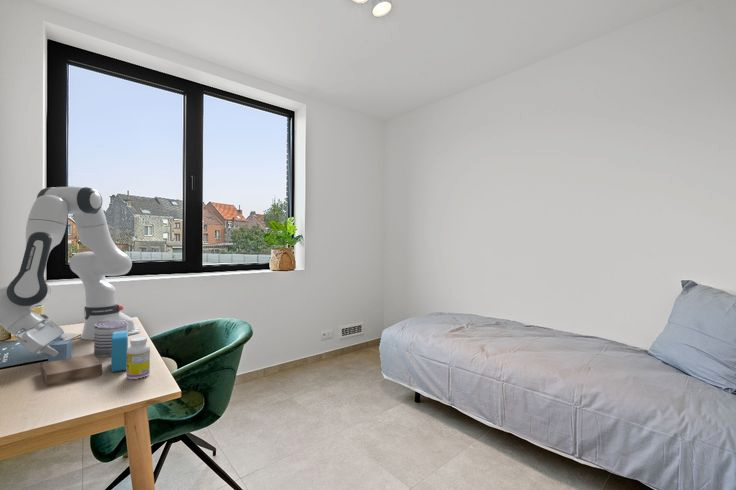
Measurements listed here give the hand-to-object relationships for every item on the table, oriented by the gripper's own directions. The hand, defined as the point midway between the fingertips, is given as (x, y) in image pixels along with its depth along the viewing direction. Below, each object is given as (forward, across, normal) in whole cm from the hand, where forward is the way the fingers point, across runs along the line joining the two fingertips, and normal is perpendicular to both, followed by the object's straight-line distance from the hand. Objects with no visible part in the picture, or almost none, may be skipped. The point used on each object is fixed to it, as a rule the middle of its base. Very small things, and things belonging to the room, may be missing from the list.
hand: (62, 350), depth 129 cm
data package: (+17, -12, -11) cm, 24 cm away
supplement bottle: (+23, -24, -16) cm, 36 cm away
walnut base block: (+8, -14, -1) cm, 17 cm away
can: (+13, +8, -6) cm, 16 cm away
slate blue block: (+3, 0, +4) cm, 5 cm away
